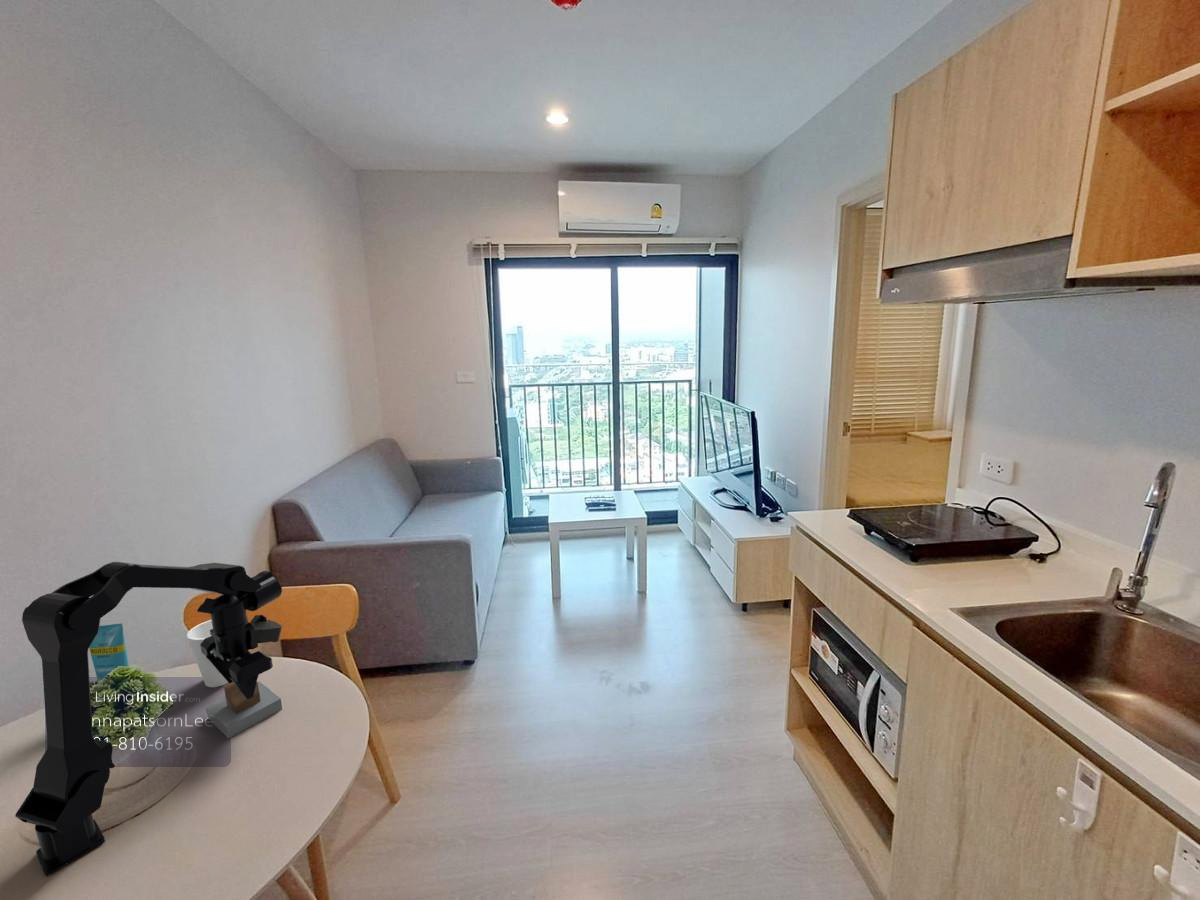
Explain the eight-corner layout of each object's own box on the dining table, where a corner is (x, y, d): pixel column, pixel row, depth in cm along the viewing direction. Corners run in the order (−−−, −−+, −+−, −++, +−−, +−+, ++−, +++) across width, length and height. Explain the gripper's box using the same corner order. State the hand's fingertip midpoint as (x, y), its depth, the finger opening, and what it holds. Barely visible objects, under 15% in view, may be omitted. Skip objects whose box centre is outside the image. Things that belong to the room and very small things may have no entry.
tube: (92, 715, 106) (72, 632, 102) (108, 699, 111) (89, 620, 107) (133, 709, 108) (115, 628, 104) (147, 694, 112) (131, 616, 108)
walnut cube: (260, 701, 106) (257, 682, 106) (236, 713, 103) (233, 694, 102) (251, 693, 109) (248, 674, 108) (227, 705, 105) (223, 686, 104)
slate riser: (282, 708, 108) (280, 698, 107) (228, 738, 100) (226, 727, 99) (260, 691, 113) (259, 681, 113) (207, 718, 105) (205, 707, 105)
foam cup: (249, 678, 118) (241, 628, 115) (200, 697, 111) (190, 645, 108) (241, 660, 124) (233, 612, 121) (194, 678, 118) (184, 627, 115)
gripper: (294, 618, 104) (304, 685, 107) (253, 594, 114) (263, 656, 117) (232, 645, 94) (244, 717, 98) (194, 615, 105) (206, 682, 108)
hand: (241, 690), depth 105 cm, fingers open, 8 cm apart
